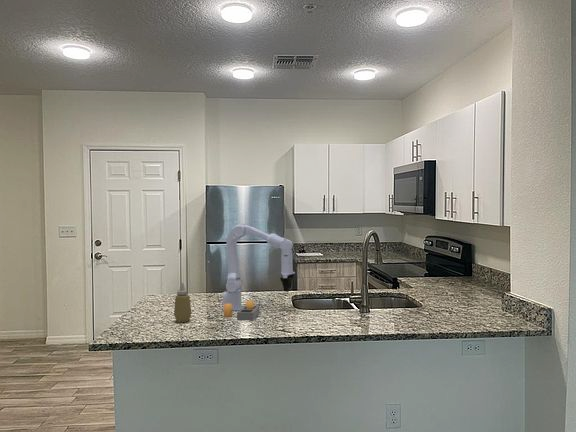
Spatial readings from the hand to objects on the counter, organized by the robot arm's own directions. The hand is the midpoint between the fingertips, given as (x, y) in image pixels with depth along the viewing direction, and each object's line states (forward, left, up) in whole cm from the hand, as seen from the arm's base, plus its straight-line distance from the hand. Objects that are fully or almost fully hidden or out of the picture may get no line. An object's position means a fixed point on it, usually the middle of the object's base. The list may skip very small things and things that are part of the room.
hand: (287, 289), depth 233 cm
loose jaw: (-27, -16, -10) cm, 33 cm away
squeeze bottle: (-46, -26, -10) cm, 54 cm away
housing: (-17, -15, -10) cm, 25 cm away
